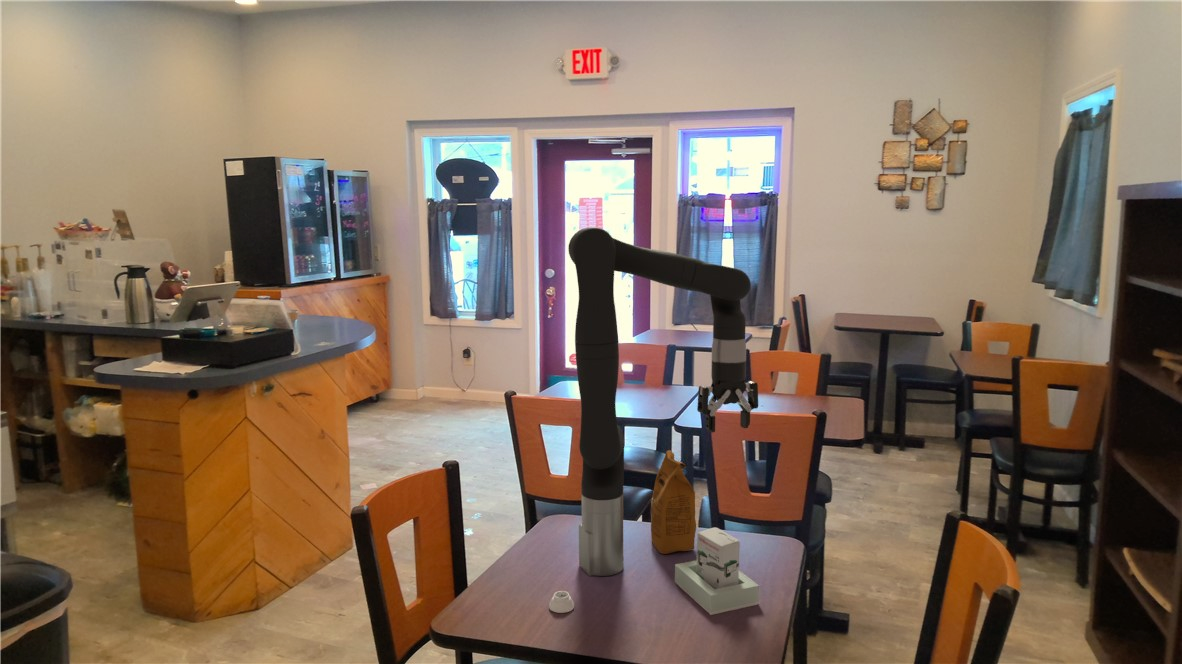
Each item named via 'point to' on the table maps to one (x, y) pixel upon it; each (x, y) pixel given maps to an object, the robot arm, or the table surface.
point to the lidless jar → (561, 602)
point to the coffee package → (672, 508)
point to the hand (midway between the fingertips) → (727, 429)
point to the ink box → (717, 558)
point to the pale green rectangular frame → (716, 590)
